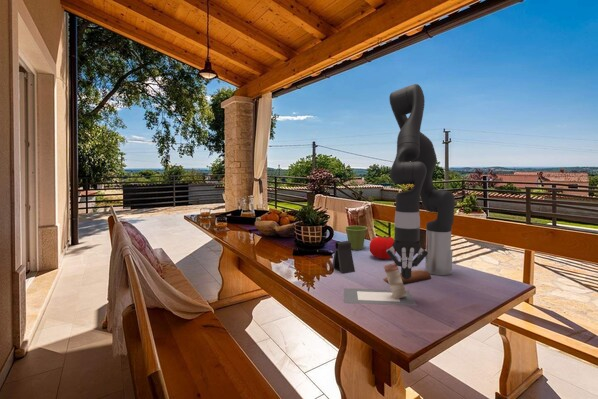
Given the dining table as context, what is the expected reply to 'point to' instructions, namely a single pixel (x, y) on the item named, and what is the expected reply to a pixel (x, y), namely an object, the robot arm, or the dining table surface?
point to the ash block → (395, 281)
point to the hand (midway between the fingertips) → (405, 278)
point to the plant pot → (356, 236)
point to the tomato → (381, 246)
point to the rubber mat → (376, 297)
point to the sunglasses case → (415, 277)
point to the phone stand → (343, 257)
